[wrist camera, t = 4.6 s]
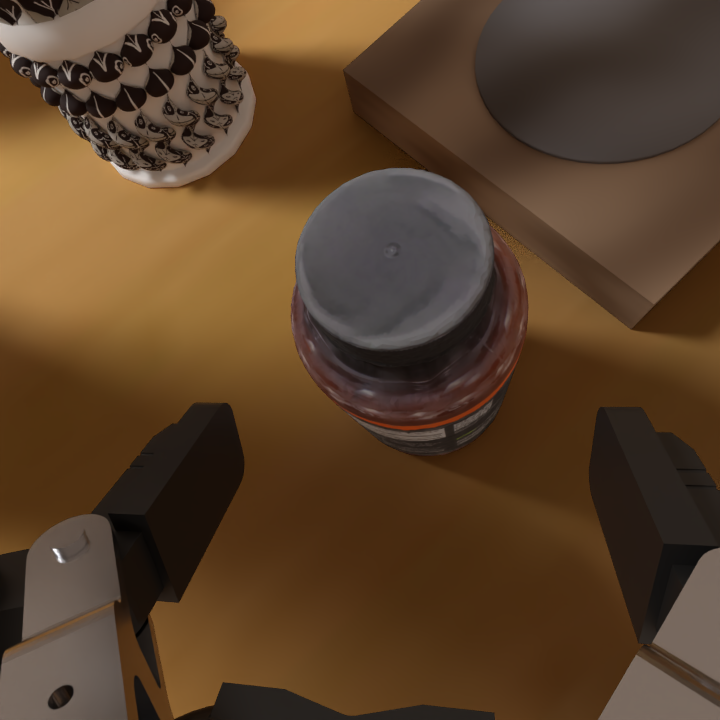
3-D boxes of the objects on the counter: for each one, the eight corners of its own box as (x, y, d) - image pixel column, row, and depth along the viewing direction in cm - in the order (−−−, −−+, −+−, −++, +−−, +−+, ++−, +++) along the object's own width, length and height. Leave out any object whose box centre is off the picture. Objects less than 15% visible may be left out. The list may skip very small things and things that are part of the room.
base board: (353, 111, 25) (341, 66, 23) (557, -73, 26) (568, -136, 24) (630, 329, 20) (656, 302, 17) (872, 90, 21) (929, 32, 18)
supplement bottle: (393, 292, 22) (334, 87, 12) (528, 348, 21) (605, 169, 10) (326, 418, 21) (194, 320, 11) (462, 487, 20) (470, 455, 9)
